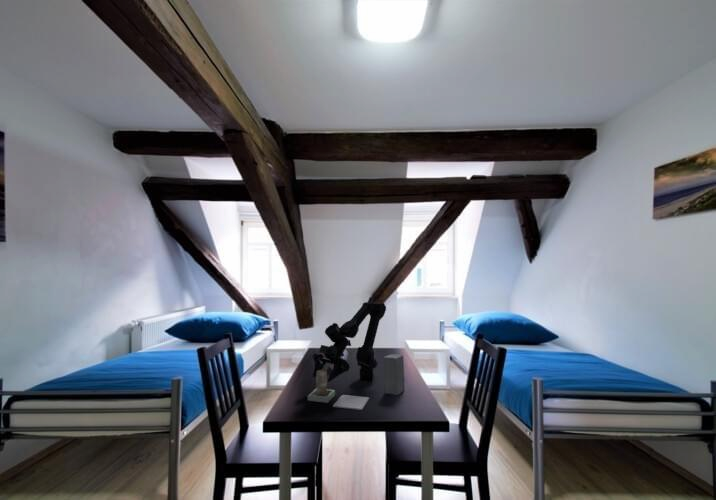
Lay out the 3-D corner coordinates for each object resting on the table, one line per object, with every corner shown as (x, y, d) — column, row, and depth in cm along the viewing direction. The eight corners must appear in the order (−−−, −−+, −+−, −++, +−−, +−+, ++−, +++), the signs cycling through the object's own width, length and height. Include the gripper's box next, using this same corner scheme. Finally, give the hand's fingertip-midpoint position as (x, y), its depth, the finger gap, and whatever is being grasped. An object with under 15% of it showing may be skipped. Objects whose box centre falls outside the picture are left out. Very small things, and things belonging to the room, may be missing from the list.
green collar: (335, 394, 147) (335, 390, 147) (327, 402, 138) (327, 397, 139) (316, 392, 150) (316, 388, 150) (307, 400, 141) (307, 395, 141)
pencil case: (334, 361, 201) (334, 345, 202) (348, 361, 201) (348, 345, 201) (328, 372, 180) (328, 354, 181) (344, 372, 180) (344, 354, 180)
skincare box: (397, 396, 145) (397, 358, 146) (382, 393, 149) (382, 356, 150) (405, 390, 152) (405, 354, 153) (391, 387, 156) (391, 352, 157)
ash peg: (328, 396, 146) (328, 370, 146) (324, 400, 141) (324, 373, 142) (318, 395, 147) (318, 369, 147) (314, 399, 142) (314, 372, 143)
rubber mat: (369, 398, 142) (369, 397, 142) (361, 410, 131) (361, 408, 131) (342, 395, 146) (342, 394, 146) (332, 406, 134) (332, 405, 134)
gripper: (315, 335, 155) (296, 364, 146) (345, 340, 143) (326, 372, 134) (327, 349, 161) (309, 378, 152) (357, 355, 149) (340, 387, 140)
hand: (320, 379), depth 144 cm, fingers open, 9 cm apart
